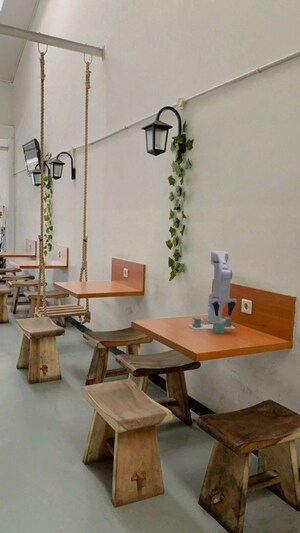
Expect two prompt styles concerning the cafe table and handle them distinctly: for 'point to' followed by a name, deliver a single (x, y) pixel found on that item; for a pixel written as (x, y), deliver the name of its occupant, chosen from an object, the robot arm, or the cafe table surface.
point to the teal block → (218, 327)
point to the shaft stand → (197, 324)
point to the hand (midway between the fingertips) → (223, 315)
